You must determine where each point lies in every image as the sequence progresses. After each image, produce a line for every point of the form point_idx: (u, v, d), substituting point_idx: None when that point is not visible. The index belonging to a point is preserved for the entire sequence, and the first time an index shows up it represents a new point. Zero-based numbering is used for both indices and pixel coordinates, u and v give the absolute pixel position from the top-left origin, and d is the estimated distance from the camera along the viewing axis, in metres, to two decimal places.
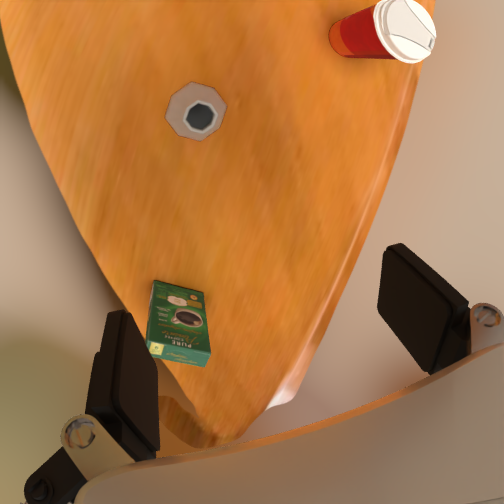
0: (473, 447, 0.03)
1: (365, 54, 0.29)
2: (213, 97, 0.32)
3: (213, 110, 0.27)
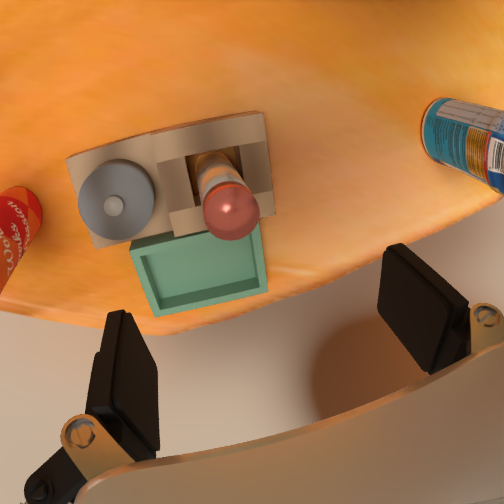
0: (473, 447, 0.03)
1: None
2: None
3: None
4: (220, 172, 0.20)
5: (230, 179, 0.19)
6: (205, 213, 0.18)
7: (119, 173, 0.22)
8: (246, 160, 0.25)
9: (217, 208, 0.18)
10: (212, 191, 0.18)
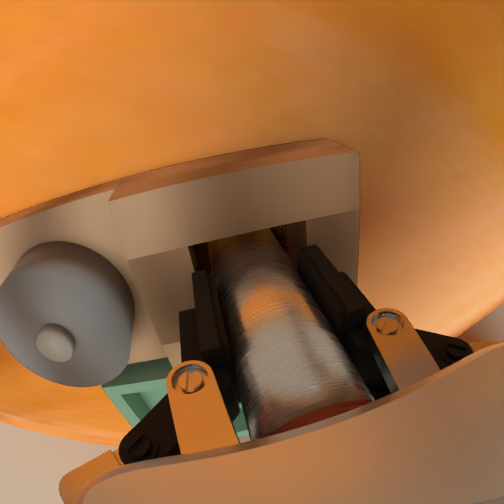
0: (473, 447, 0.03)
1: None
2: None
3: None
4: (292, 336, 0.08)
5: (334, 389, 0.06)
6: None
7: (52, 287, 0.10)
8: None
9: None
10: None
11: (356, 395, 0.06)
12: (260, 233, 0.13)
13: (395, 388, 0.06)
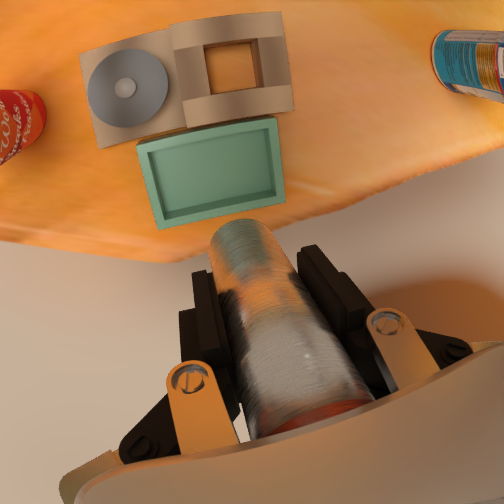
0: (473, 447, 0.03)
1: None
2: None
3: None
4: (291, 336, 0.08)
5: (335, 388, 0.06)
6: None
7: (135, 56, 0.19)
8: (264, 52, 0.22)
9: None
10: None
11: (356, 394, 0.06)
12: (260, 236, 0.13)
13: (395, 388, 0.06)
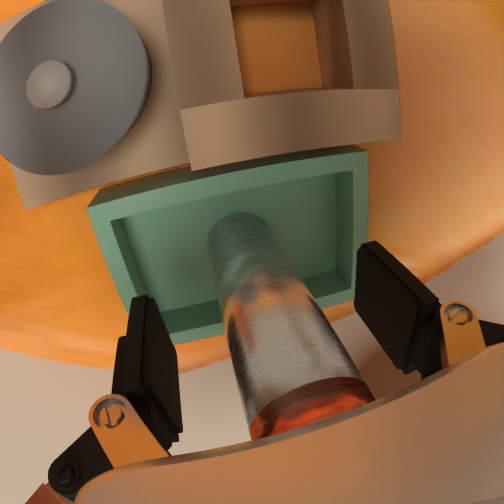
0: (473, 447, 0.03)
1: None
2: None
3: None
4: (284, 318, 0.08)
5: (324, 365, 0.07)
6: None
7: (74, 13, 0.07)
8: (353, 18, 0.09)
9: None
10: (286, 422, 0.06)
11: (345, 372, 0.07)
12: (257, 228, 0.13)
13: None
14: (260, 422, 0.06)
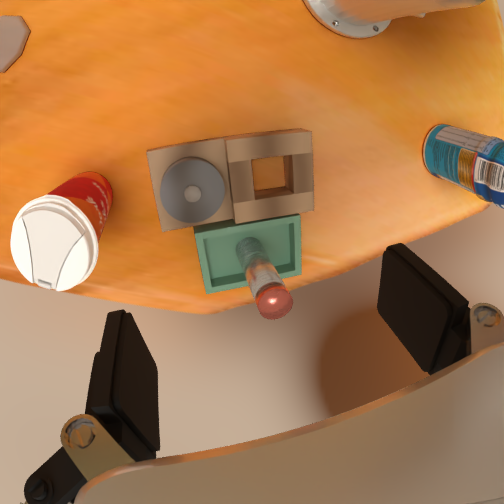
0: (473, 447, 0.03)
1: None
2: (1, 52, 0.19)
3: None
4: (264, 270, 0.31)
5: (274, 279, 0.30)
6: (260, 305, 0.28)
7: (200, 167, 0.30)
8: (296, 166, 0.33)
9: (267, 302, 0.28)
10: (264, 290, 0.29)
11: (279, 282, 0.30)
12: (256, 244, 0.36)
13: None
14: (258, 292, 0.29)
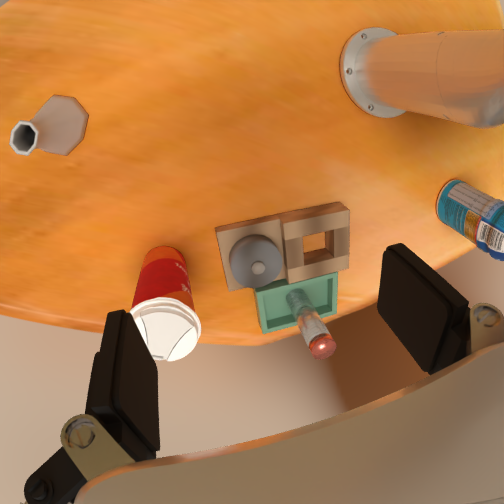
0: (473, 447, 0.03)
1: (136, 288, 0.34)
2: (65, 141, 0.28)
3: (30, 149, 0.22)
4: (314, 322, 0.40)
5: (322, 331, 0.38)
6: (313, 351, 0.37)
7: (263, 248, 0.38)
8: (336, 237, 0.41)
9: (319, 349, 0.37)
10: (316, 340, 0.37)
11: (326, 332, 0.38)
12: (303, 295, 0.45)
13: None
14: (311, 341, 0.38)
